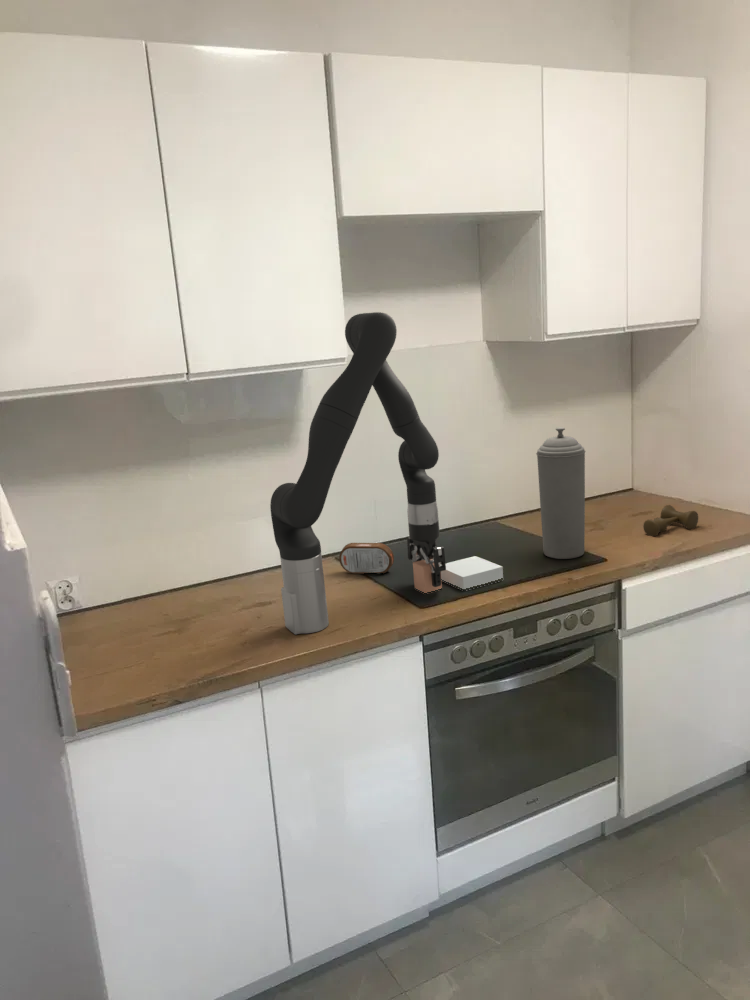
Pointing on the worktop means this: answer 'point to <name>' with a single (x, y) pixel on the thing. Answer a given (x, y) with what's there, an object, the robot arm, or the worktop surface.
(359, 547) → the tin
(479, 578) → the white block
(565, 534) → the canister
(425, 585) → the terracotta block
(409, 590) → the worktop surface
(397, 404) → the robot arm
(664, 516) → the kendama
